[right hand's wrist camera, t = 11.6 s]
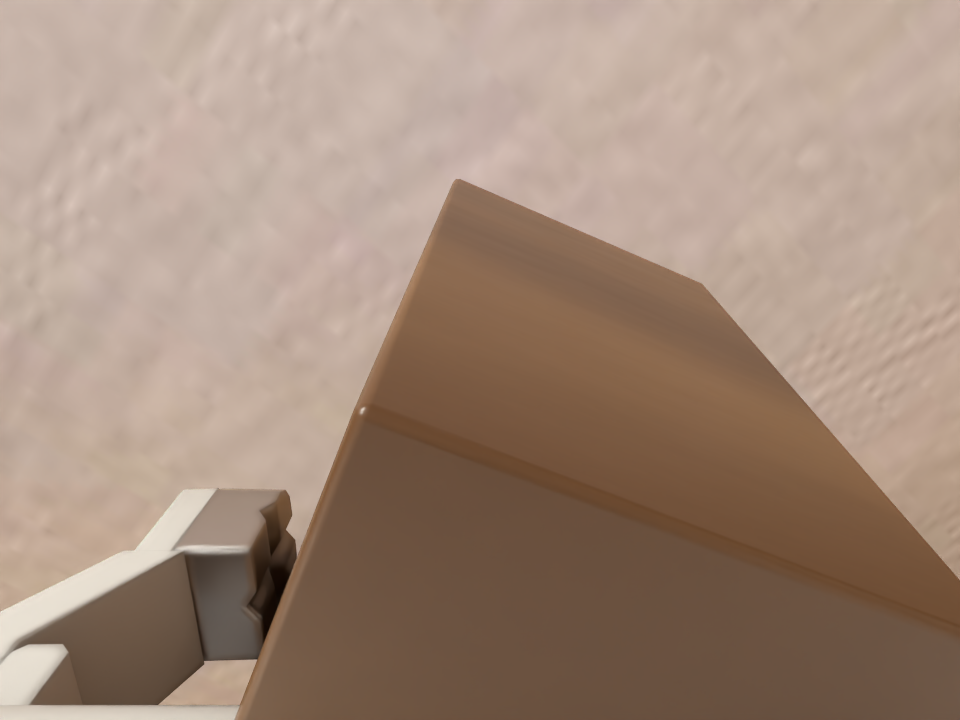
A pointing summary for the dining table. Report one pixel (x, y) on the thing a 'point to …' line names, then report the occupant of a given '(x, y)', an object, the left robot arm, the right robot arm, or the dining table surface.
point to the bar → (595, 514)
